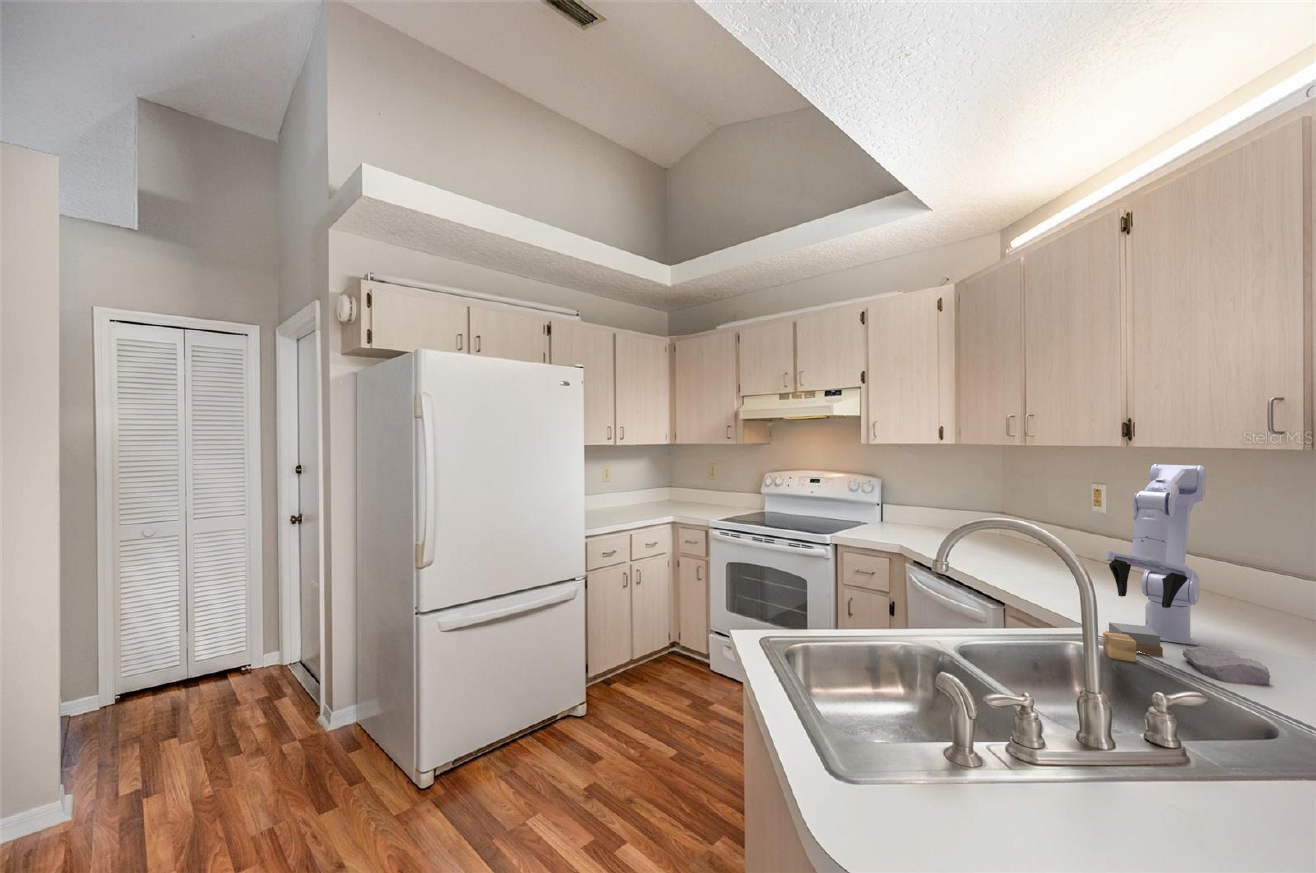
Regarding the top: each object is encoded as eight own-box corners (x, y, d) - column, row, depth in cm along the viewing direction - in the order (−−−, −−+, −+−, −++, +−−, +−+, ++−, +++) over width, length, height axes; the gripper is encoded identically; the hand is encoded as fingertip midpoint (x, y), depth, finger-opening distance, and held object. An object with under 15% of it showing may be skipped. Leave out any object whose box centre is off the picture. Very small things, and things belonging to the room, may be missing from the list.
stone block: (1220, 691, 108) (1278, 686, 106) (1214, 667, 108) (1272, 662, 106) (1176, 669, 120) (1227, 664, 118) (1170, 647, 120) (1222, 642, 118)
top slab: (1108, 632, 130) (1108, 622, 130) (1145, 636, 128) (1145, 626, 128) (1121, 642, 124) (1121, 631, 124) (1160, 646, 121) (1160, 635, 121)
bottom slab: (1105, 641, 131) (1105, 631, 131) (1147, 646, 128) (1147, 636, 128) (1118, 653, 124) (1118, 642, 124) (1162, 659, 121) (1162, 647, 121)
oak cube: (1103, 651, 124) (1103, 632, 124) (1127, 654, 122) (1127, 635, 122) (1110, 658, 119) (1110, 638, 120) (1136, 662, 118) (1136, 641, 118)
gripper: (1117, 530, 121) (1110, 589, 117) (1201, 548, 114) (1196, 611, 111) (1104, 535, 127) (1098, 592, 123) (1184, 553, 121) (1179, 613, 117)
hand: (1143, 601), depth 118 cm, fingers open, 7 cm apart
